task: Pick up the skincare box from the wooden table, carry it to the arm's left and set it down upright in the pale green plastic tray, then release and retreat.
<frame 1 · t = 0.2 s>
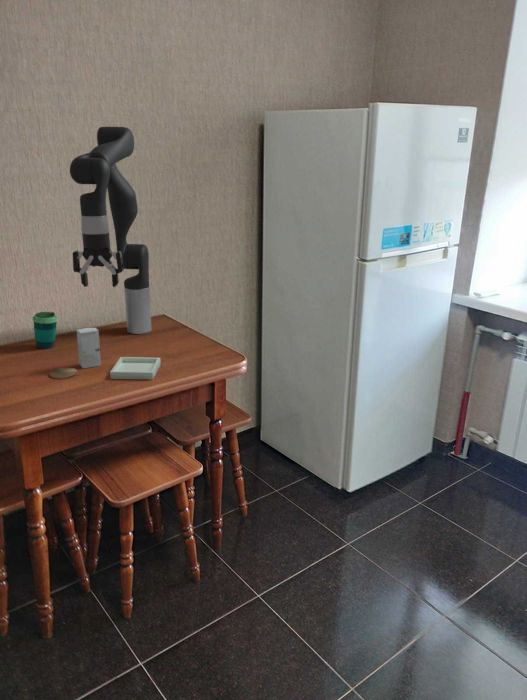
hand: (100, 286, 168), 28 cm above the table, fingers open, 8 cm apart
skincare box: (90, 365, 185), on the table
coaster: (63, 373, 177), on the table
cup: (48, 347, 201), on the table
tray: (136, 371, 180), on the table
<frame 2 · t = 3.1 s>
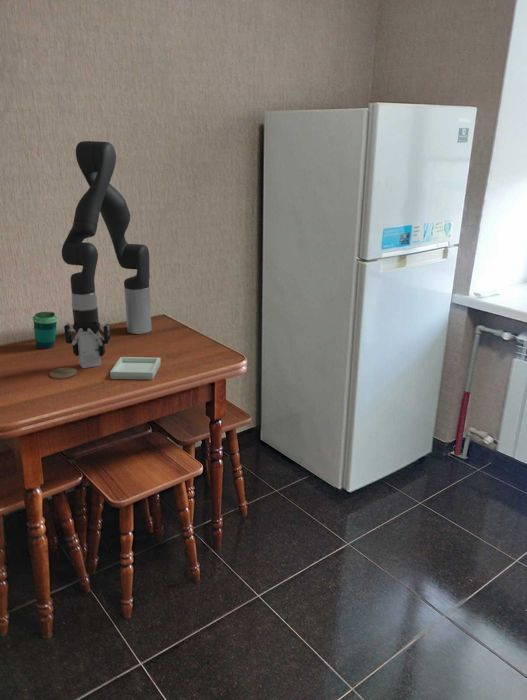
hand: (89, 355, 183), 3 cm above the table, fingers closed on skincare box, 7 cm apart
skincare box: (90, 365, 185), on the table, touching gripper
everything else where it was.
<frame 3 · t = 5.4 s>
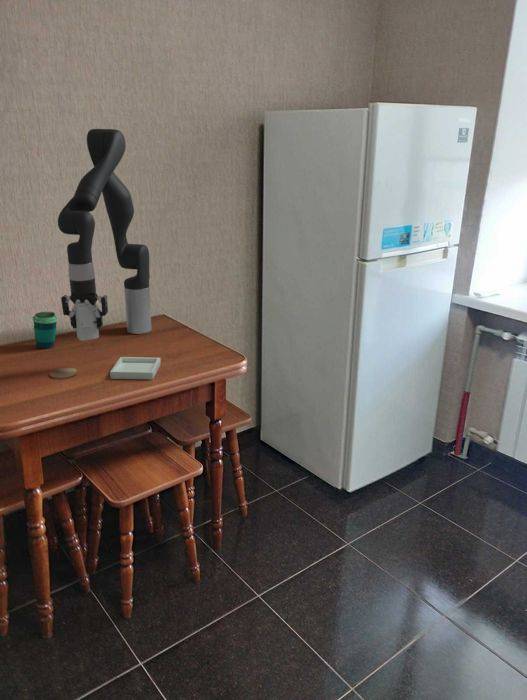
hand: (87, 327, 180), 13 cm above the table, fingers closed on skincare box, 7 cm apart
skincare box: (88, 338, 182), point 9 cm above the table, touching gripper
everything else where it was.
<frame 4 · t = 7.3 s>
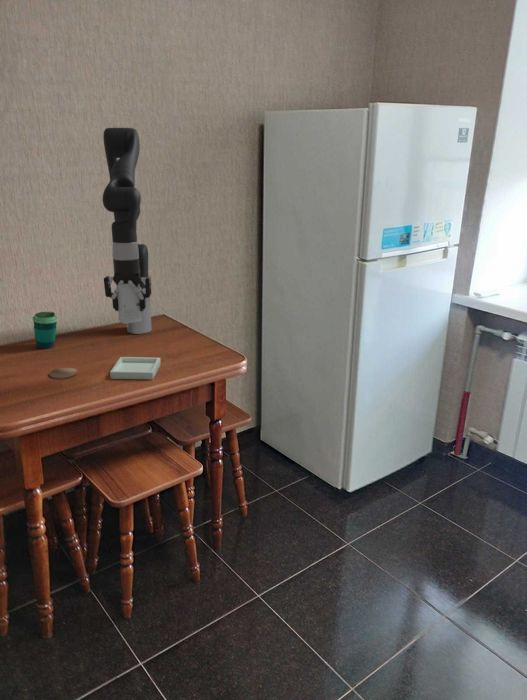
hand: (129, 310, 173), 20 cm above the table, fingers closed on skincare box, 7 cm apart
skincare box: (130, 321, 175), point 16 cm above the table, touching gripper
everything else where it was.
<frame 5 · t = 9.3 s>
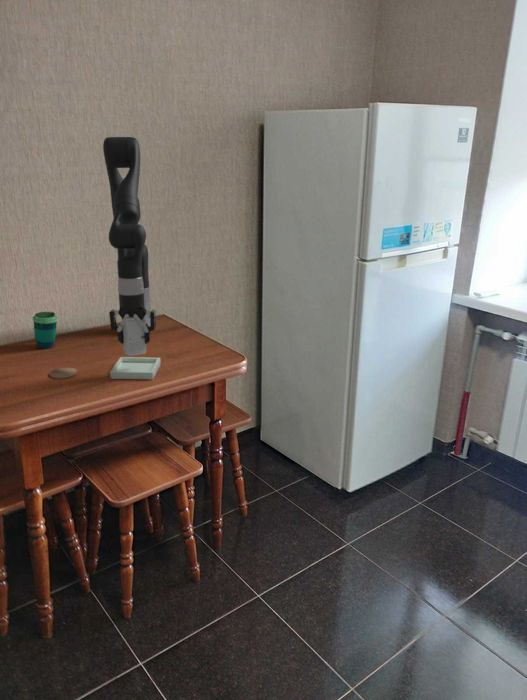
hand: (134, 342, 177), 10 cm above the table, fingers closed on skincare box, 7 cm apart
skincare box: (135, 353, 178), point 6 cm above the table, touching gripper
everything else where it was.
when the fingers open (5 cm above the table, at t = 11.3 s): skincare box stays where it is, resting on tray.
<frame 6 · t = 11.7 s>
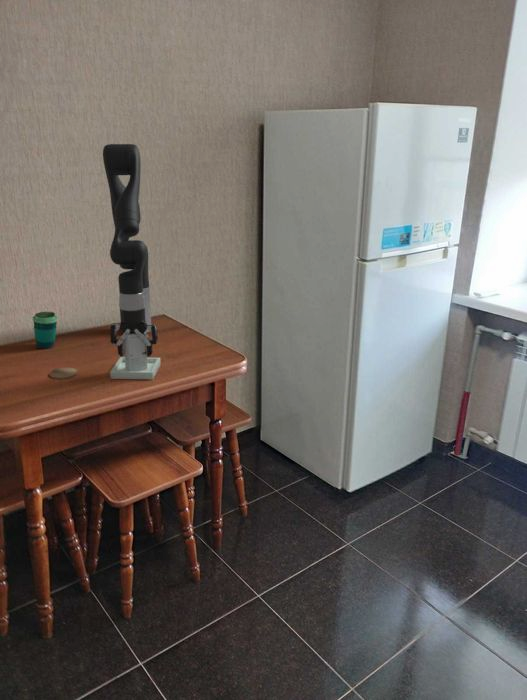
hand: (135, 356, 179), 5 cm above the table, fingers open, 8 cm apart
skincare box: (136, 369, 180), point 1 cm above the table, touching tray
everything else where it was.
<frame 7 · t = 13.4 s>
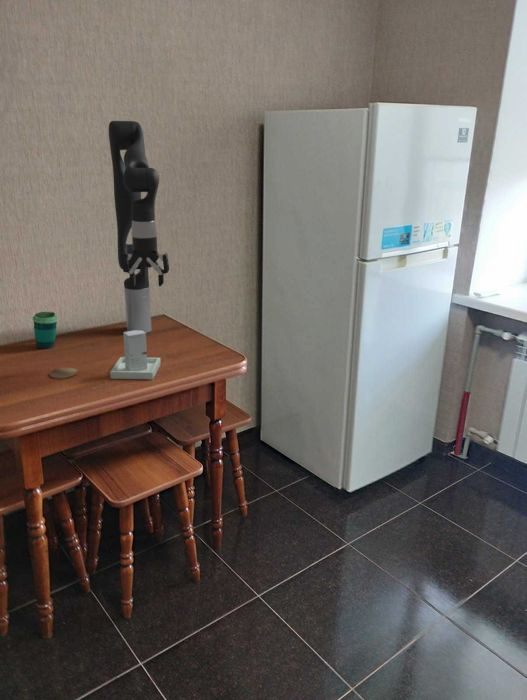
hand: (147, 285, 182), 25 cm above the table, fingers open, 8 cm apart
nothing on the table moved.
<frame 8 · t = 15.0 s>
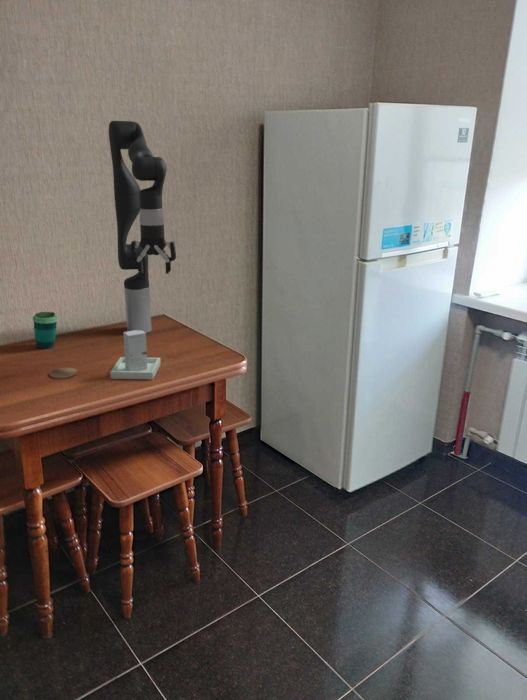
hand: (154, 273, 186), 28 cm above the table, fingers open, 8 cm apart
nothing on the table moved.
at the end: skincare box inside the target area on the tray (0.1 cm from its centre), point 0.6 cm above the tray's base; skincare box tilted 0°; the gripper is holding nothing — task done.
